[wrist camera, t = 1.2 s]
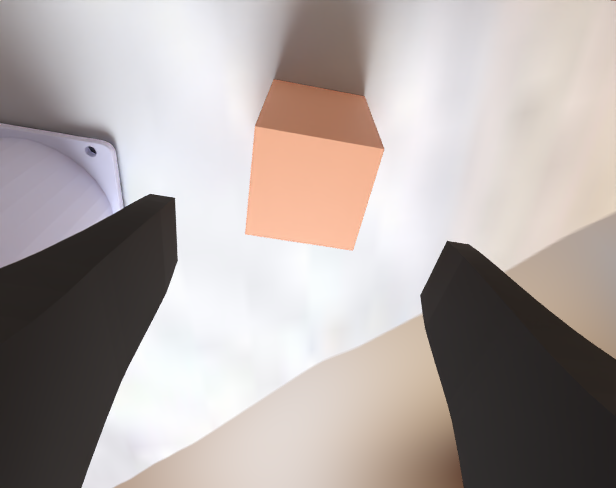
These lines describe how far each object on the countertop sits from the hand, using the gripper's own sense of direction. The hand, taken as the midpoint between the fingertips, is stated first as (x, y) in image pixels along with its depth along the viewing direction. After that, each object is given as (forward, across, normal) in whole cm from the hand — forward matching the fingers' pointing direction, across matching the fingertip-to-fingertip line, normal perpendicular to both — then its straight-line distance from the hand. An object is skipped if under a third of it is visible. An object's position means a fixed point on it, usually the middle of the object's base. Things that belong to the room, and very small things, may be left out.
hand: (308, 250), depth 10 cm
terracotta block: (+9, 0, 0) cm, 9 cm away
